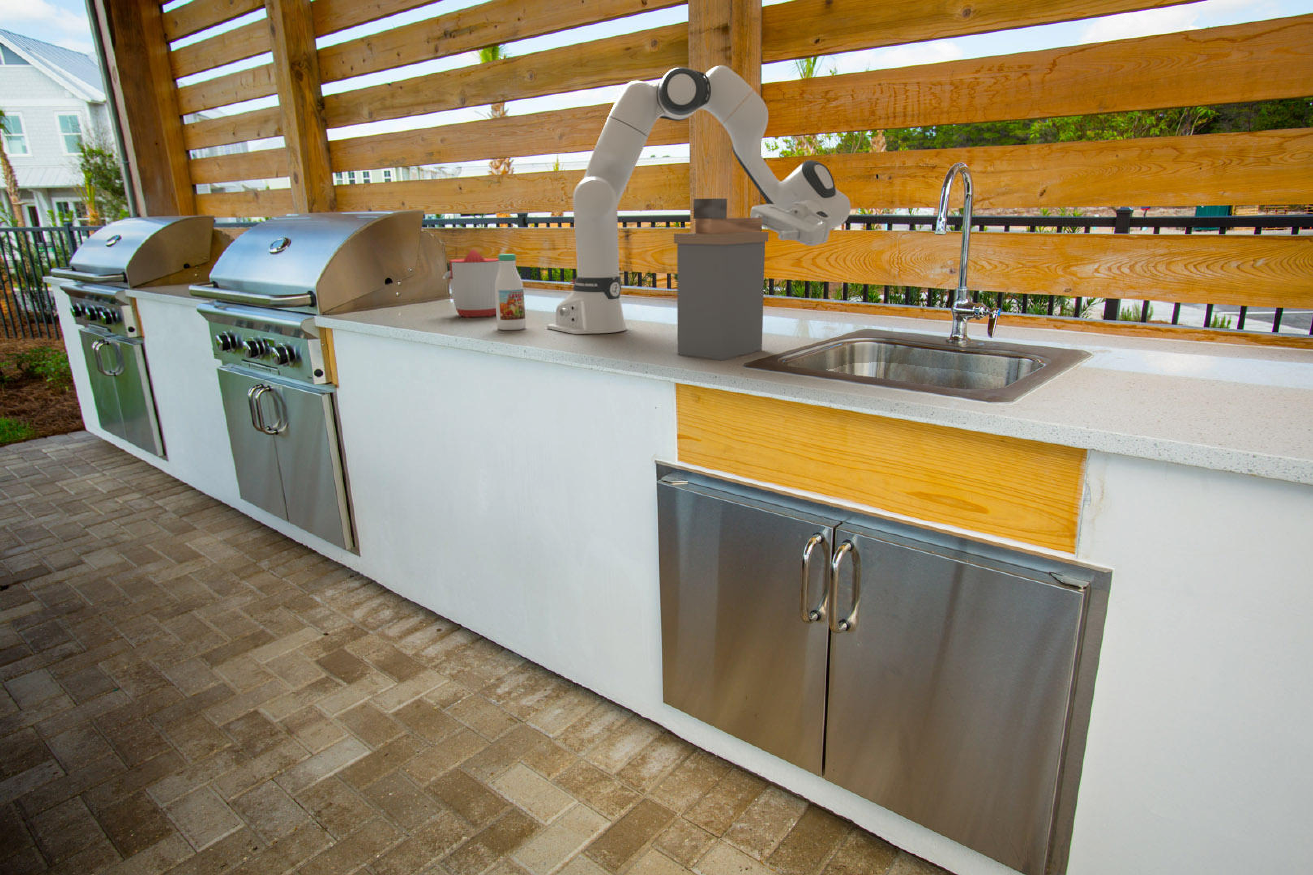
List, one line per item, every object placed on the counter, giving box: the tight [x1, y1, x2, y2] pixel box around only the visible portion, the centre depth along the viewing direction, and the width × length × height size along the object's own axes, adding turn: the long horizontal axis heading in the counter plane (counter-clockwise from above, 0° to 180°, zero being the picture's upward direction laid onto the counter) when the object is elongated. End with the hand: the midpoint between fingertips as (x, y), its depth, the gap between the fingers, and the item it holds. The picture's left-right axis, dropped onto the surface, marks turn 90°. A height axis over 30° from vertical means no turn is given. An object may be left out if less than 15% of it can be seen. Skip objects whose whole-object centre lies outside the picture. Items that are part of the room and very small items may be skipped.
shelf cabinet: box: [673, 231, 770, 361], centre depth 169 cm, size 13×17×26 cm
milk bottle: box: [495, 253, 527, 331], centre depth 208 cm, size 8×8×20 cm
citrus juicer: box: [442, 249, 500, 319], centre depth 235 cm, size 16×17×20 cm
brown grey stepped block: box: [693, 198, 763, 234], centre depth 166 cm, size 5×20×7 cm, turn 141°
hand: (765, 230), depth 184 cm, fingers open, 8 cm apart
